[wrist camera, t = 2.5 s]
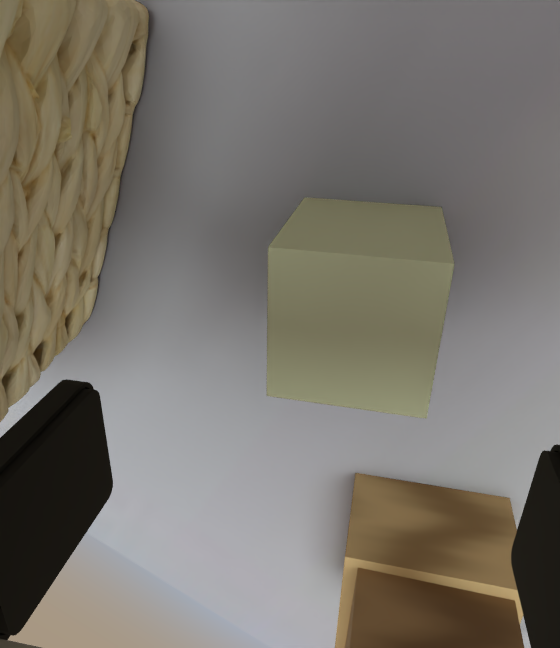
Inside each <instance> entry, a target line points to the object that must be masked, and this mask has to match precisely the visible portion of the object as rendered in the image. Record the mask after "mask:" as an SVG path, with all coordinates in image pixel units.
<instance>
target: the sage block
mask: <svg viewBox="0 0 560 648" xmlns="http://www.w3.org/2000/svg"><path fill="white" fill-rule="evenodd" d="M453 270H454V259H453V255H452V251H451V246H450V242H449V237H448V233H447V229H446V224H445V220H444V215H443V211H442V207H434V206H420V205H405V204H391V203H377V202H363V201H349V200H335V199H321V198H307V197H305V198H304V199H303V200H302V202H301V203H300V204H299V206H298V207H297V208H296V210H295V211H294V213H293V214H292V215H291V217H290V218H289V219H288V221H287V222H286V223H285V225H284V226H283V228H282V229H281V230H280V232H279V233H278V234H277V236H276V237H275V238H274V240H273V241H272V242H271V244H270V245H269V247H268V306H267V396H271V397H278V398H285V399H293V400H300V401H307V402H314V403H321V404H328V405H335V406H342V407H349V408H356V409H363V410H370V411H377V412H384V413H391V414H398V415H405V416H412V417H419V418H427V413H428V407H429V402H430V396H431V391H432V385H433V380H434V374H435V369H436V363H437V358H438V352H439V347H440V341H441V336H442V330H443V325H444V319H445V314H446V308H447V303H448V297H449V292H450V286H451V281H452V275H453Z"/></svg>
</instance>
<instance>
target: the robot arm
mask: <svg viewBox="0 0 560 648" xmlns="http://www.w3.org/2000/svg"><path fill="white" fill-rule="evenodd" d="M112 487H113V479H112V473H111V466H110V460H109V453H108V447H107V440H106V433H105V427H104V420H103V414H102V407H101V401H100V395H99V393H98V391H96V390H94V389H93V386H92V385H91V384H90V383H88V382H80V381H73V380H62V381H61V382H60V383H58V384H57V385H56V386H55V387H54V388H53V389H52V390H51V391H50V392H49V393H48V394H47V395H46V396H45V397H44V398H42V399H41V400H40V401H39V402H38V403H37V404H36V405H35V406H34V407H33V408H32V409H31V410H30V411H29V412H27V413H26V414H25V415H24V416H23V417H22V418H21V419H20V420H19V421H18V422H17V423H16V424H15V425H14V426H13V427H11V428H10V429H9V430H8V431H7V432H6V433H5V434H4V435H3V436H2V437H1V438H0V648H41V647H36V646H31V645H27V644H22V643H17V642H13V641H8V638H9V637H10V635H16V634H17V633H19V632H20V631H21V629H22V628H23V627H24V625H25V624H26V622H27V621H28V619H29V618H30V616H31V615H32V613H33V612H34V610H35V609H36V607H37V605H38V604H39V603H40V601H41V600H42V598H43V597H44V595H45V594H46V592H47V591H48V589H49V588H50V586H51V585H52V583H53V582H54V580H55V579H56V577H57V576H58V574H59V572H60V571H61V569H62V568H63V566H64V565H65V563H66V562H67V560H68V559H69V557H70V556H71V554H72V553H73V551H74V550H75V548H76V547H77V545H78V544H79V542H80V541H81V539H82V538H83V536H84V534H85V533H86V532H87V530H88V529H89V527H90V526H91V524H92V523H93V521H94V520H95V518H96V517H97V515H98V514H99V512H100V511H101V509H102V508H103V506H104V505H105V503H106V502H107V500H108V499H109V497H110V494H111V492H112ZM511 564H512V570H513V574H514V578H515V582H516V586H517V590H518V595H519V599H520V603H521V607H522V611H523V616H524V620H525V624H526V628H527V632H528V636H529V641H530V645H531V648H560V445H554V446H553V447H552V449H551V451H543V452H542V453H541V455H540V458H539V461H538V464H537V467H536V471H535V474H534V477H533V481H532V484H531V487H530V490H529V494H528V497H527V500H526V503H525V507H524V510H523V513H522V516H521V520H520V523H519V526H518V529H517V533H516V536H515V539H514V542H513V546H512V550H511Z"/></svg>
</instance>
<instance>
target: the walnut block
mask: <svg viewBox="0 0 560 648" xmlns="http://www.w3.org/2000/svg"><path fill="white" fill-rule="evenodd" d="M345 648H524V644H523V639H522V634H521V629H520V624H519V619H518V613H517V608H516V603H515V600H510V599H505V598H501V597H496V596H491V595H487V594H482V593H477V592H472V591H468V590H463V589H458V588H453V587H449V586H444V585H439V584H435V583H430V582H425V581H420V580H416V579H411V578H406V577H401V576H397V575H392V574H387V573H382V572H378V571H373V570H368V569H363V568H359V567H358V569H357V576H356V582H355V588H354V594H353V600H352V607H351V613H350V619H349V625H348V632H347V638H346V644H345Z"/></svg>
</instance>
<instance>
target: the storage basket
mask: <svg viewBox="0 0 560 648" xmlns="http://www.w3.org/2000/svg"><path fill="white" fill-rule="evenodd" d="M148 20H149V14H148V10H147V8H146V7H145V6H144V5H143V4H141V3H139V2H137V1H135V0H0V422H1V421H2V420H3V419H4V417H5V416H6V414H7V413H8V408H9V407H10V406H12V405H13V404H15V403H16V402H17V401H19V400H20V399H21V398H22V397H23V396H24V395H25V394H26V393H27V392H28V390H29V388H30V387H31V386H33V385H34V384H35V383H36V382H37V381H38V380H39V379H40V375H41V373H40V372H42V371H45V369H46V368H47V367H48V366H49V365H50V364H51V362H52V361H53V359H54V357H55V356H56V355H58V354H59V353H60V352H61V351H63V349H64V348H65V347H66V346H67V344H68V342H70V341H72V340H73V339H74V338H75V337H76V336H77V335H78V334H79V332H80V331H81V329H82V326H83V324H84V323H85V322H86V321H87V320H88V319H89V317H90V315H91V312H92V310H93V307H94V303H95V299H96V295H97V289H98V275H99V274H100V271H101V268H102V265H103V261H104V256H105V251H106V246H107V234H108V230H109V227H110V226H111V224H112V221H113V218H114V214H115V210H116V205H117V200H118V195H119V186H120V177H121V173H122V169H123V167H124V164H125V160H126V156H127V152H128V148H129V141H130V134H131V127H132V118H133V112H134V109H135V106H136V104H137V103H138V101H139V98H140V96H141V90H142V85H143V79H144V71H145V57H146V44H147V39H148Z"/></svg>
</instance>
